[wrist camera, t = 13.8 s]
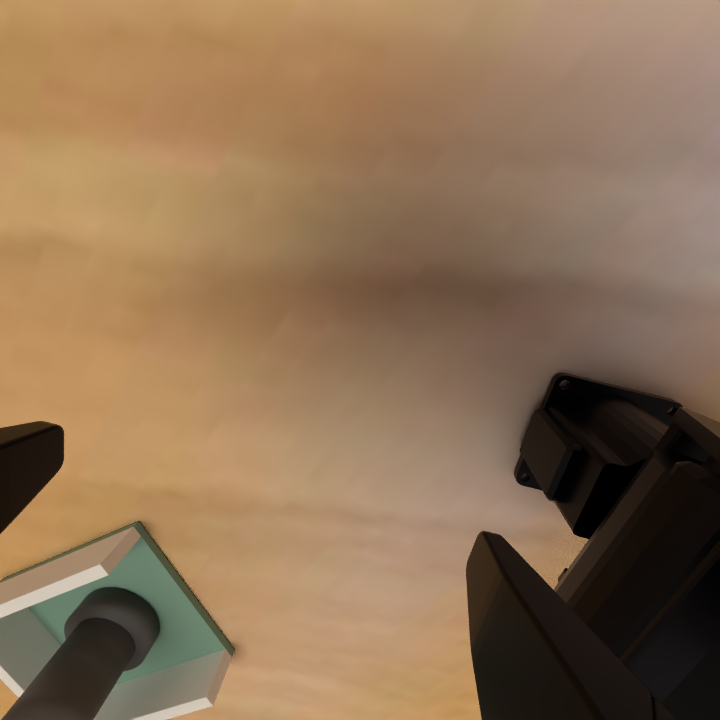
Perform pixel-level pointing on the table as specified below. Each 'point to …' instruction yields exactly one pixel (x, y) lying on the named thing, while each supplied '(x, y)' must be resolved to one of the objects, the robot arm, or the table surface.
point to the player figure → (90, 657)
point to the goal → (133, 574)
